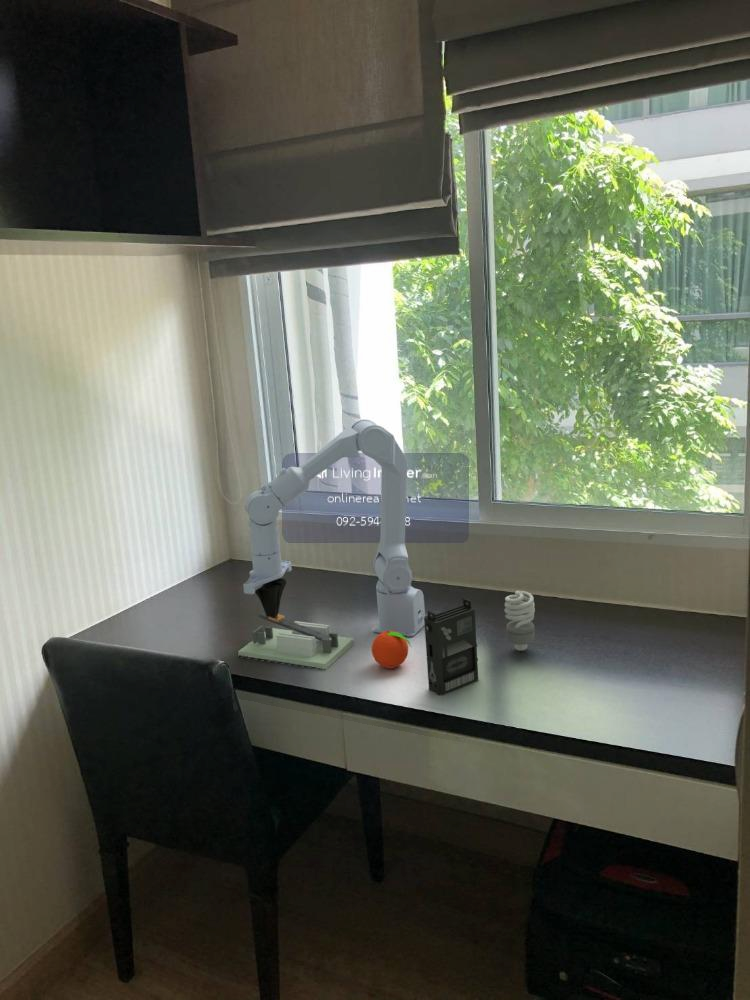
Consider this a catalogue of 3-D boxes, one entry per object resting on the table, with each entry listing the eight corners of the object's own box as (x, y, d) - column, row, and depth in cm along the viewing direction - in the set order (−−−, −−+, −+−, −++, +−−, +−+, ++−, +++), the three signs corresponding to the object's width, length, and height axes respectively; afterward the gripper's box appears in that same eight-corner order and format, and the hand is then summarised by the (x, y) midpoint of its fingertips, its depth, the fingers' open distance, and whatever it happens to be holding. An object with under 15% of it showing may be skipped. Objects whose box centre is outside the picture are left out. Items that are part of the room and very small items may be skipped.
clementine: (420, 661, 153) (417, 626, 151) (405, 677, 147) (403, 641, 145) (382, 656, 157) (379, 622, 155) (366, 671, 151) (363, 636, 149)
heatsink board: (354, 643, 163) (352, 622, 162) (325, 669, 153) (323, 647, 152) (271, 633, 172) (268, 612, 171) (238, 656, 161) (236, 635, 160)
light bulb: (533, 658, 151) (531, 598, 148) (503, 656, 153) (501, 596, 150) (538, 645, 156) (536, 587, 153) (509, 643, 158) (507, 586, 155)
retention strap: (334, 640, 159) (335, 635, 159) (329, 645, 157) (329, 639, 157) (264, 614, 165) (264, 608, 165) (258, 618, 163) (258, 612, 163)
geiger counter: (467, 669, 148) (463, 593, 145) (483, 678, 145) (480, 600, 141) (422, 687, 143) (416, 609, 139) (438, 697, 139) (432, 616, 135)
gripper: (268, 539, 167) (274, 600, 171) (227, 561, 155) (235, 626, 158) (297, 541, 164) (303, 604, 168) (258, 564, 152) (265, 630, 155)
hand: (272, 615), depth 163 cm, fingers closed, pressing on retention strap
